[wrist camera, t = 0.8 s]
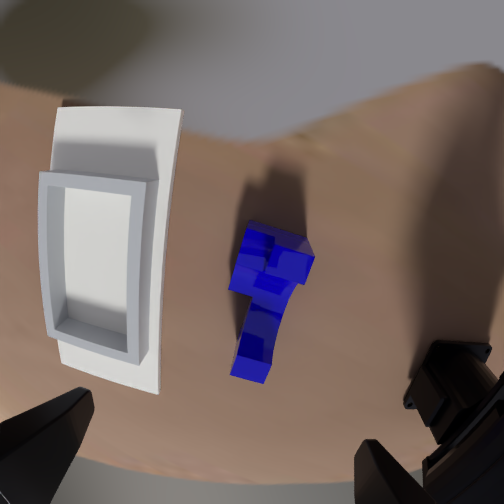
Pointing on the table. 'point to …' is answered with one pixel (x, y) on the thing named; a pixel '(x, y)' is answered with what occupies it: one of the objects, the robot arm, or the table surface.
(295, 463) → the table surface
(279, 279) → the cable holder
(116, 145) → the desk organizer
